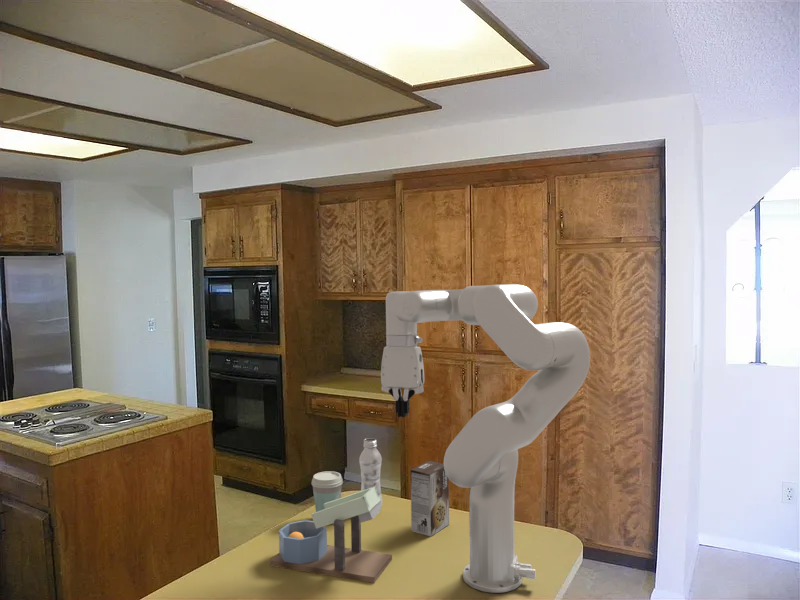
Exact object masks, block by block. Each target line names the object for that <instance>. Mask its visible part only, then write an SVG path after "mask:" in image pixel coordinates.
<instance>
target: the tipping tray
mask: <svg viewBox="0 0 800 600" xmlns="http://www.w3.org/2000/svg"><path fill="white" fill-rule="evenodd" d="M380 500H381V499H380V496H379V494H378V491H377V489H376V486H374V487H372V488H369V489H366V490H363V491H361V490H360V491H358V492H355V493H354V492H353V493H352V494H348V495H346V496H343V497H342V496H341V498H339V499H336V500H333V501H330V502H327V503H325V504H323V505H324V507H325V509H324V510H321V511H318V512H316V511H315V512H312V513H311V514H310V515H311V519H312V521H314V524H315V527H316V529H317V528H320V527H323V526H325V527H326V526H329V525H332V524H334V521H335V520H336V519H338V520H344V521H345V520H347V519H351V517H354V516H357V515H358V517H359V519H360V522H361V523H364V522H368V521H370V520H373V519H374V518H376V516H377V515H378V514H379V513H380V512H382V510H381V509H380V507H379V505H378V502H379V501H380Z"/></svg>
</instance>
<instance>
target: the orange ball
mask: <svg viewBox="0 0 800 600" xmlns="http://www.w3.org/2000/svg"><path fill="white" fill-rule="evenodd" d="M288 537H291V538H298V539H302V538H304V537H303V535H302V534H301V533H300V532H293V533H291V534H290V535H289V536H288Z"/></svg>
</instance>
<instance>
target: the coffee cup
mask: <svg viewBox="0 0 800 600" xmlns="http://www.w3.org/2000/svg"><path fill="white" fill-rule="evenodd" d="M343 483H344V479H343V476H342V474H341V473H340V472H337V471H332V470H330V471H327V470H325V471H321V472H317V473H315V474H313V477H312V479H311V486H312V491H313V500H314V507H315V512H318V511H321V510H324V509H325V507H324V505H323V504H325V503H327V502H330V501H333V500H336V499H339V498H342V487H343Z"/></svg>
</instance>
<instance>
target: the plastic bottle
mask: <svg viewBox="0 0 800 600" xmlns="http://www.w3.org/2000/svg"><path fill="white" fill-rule="evenodd" d="M377 443H378V441H377V439H376V438H373V437H371V438H365V439H363V445H362V446H363V450H362V451H361V453H360V455H359V457H358V458H359V459H358V460H359V462H358V463H359V468H360V476H361V477H360V478H361V481H360V482H361V487H360V491H363V490H366V489H369V488H372V487H374V486H376V489H377V491H378V494H379V496H380V499H381V500H380V501H379V502H378V505H379V507H380V510H381V509H382V507H383V502H384V501H383V496H382V495H383V494H382V490H381V488H382V487H381V472H382V471H381V468H382V462H383V458H382V455H381V453H380V451H379V450H378V449H377V448H378V444H377Z"/></svg>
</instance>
